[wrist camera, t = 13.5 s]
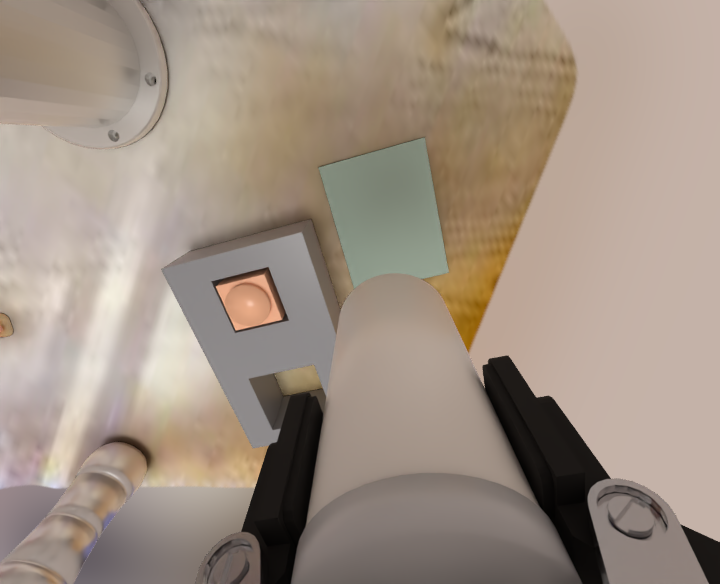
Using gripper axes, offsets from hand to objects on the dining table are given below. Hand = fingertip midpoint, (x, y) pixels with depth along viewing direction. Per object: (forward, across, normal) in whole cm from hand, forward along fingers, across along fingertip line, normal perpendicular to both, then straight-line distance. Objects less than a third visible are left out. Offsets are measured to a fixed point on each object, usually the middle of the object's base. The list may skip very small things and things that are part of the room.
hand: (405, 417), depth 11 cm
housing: (+23, +11, +8) cm, 27 cm away
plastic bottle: (+24, +36, +20) cm, 48 cm away
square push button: (+23, +12, +2) cm, 26 cm away
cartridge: (+6, 0, 0) cm, 6 cm away
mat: (+23, -1, -1) cm, 23 cm away
